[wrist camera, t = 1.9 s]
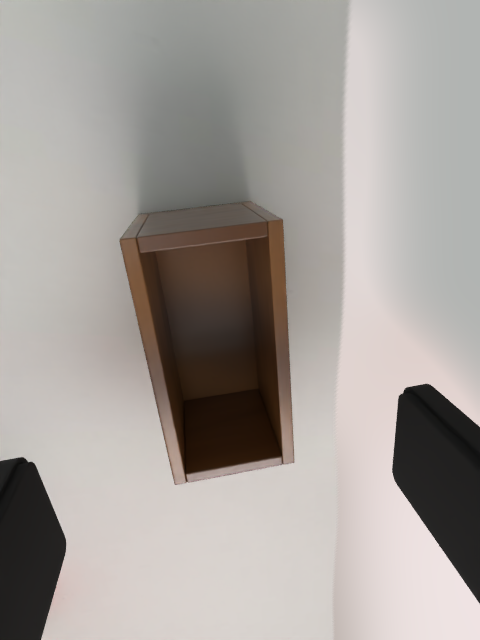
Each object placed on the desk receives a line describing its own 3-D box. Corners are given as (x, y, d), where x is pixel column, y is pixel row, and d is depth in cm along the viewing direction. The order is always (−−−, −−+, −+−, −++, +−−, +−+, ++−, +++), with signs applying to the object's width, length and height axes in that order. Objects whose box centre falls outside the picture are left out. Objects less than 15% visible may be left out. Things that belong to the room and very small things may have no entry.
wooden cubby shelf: (137, 214, 16) (118, 239, 11) (251, 200, 17) (283, 219, 12) (175, 403, 20) (174, 485, 15) (266, 388, 21) (294, 462, 16)
